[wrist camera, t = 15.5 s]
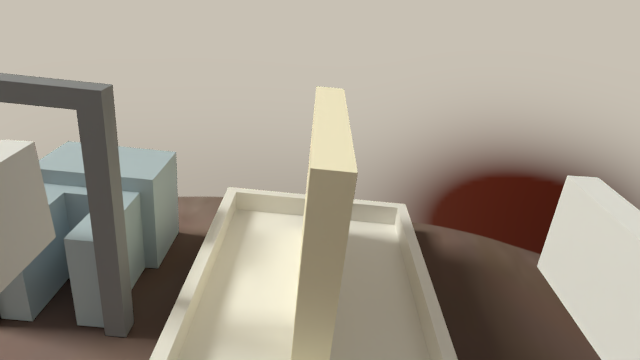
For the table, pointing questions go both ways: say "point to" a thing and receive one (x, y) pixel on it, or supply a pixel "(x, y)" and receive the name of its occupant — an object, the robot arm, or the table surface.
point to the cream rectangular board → (324, 226)
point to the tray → (281, 287)
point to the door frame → (94, 210)
